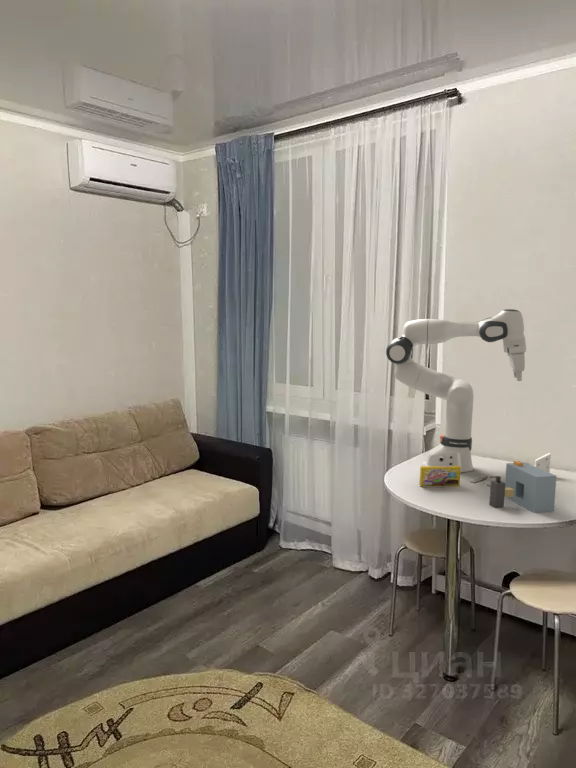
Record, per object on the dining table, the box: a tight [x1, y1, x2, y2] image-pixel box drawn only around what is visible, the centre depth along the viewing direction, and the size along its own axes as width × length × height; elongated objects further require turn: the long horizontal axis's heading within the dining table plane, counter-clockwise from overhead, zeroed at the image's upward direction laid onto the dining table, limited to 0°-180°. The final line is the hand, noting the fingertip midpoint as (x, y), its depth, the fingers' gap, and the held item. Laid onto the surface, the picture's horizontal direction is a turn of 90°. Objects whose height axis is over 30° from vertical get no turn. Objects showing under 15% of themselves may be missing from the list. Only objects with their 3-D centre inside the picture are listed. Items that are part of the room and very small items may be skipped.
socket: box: [504, 460, 557, 514], centre depth 216 cm, size 8×18×14 cm, turn 13°
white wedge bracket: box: [534, 452, 552, 473], centre depth 253 cm, size 4×10×9 cm, turn 84°
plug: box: [489, 475, 514, 509], centre depth 213 cm, size 8×4×11 cm, turn 103°
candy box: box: [419, 466, 462, 487], centre depth 236 cm, size 16×2×8 cm, turn 95°
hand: (517, 379), depth 250 cm, fingers open, 8 cm apart
